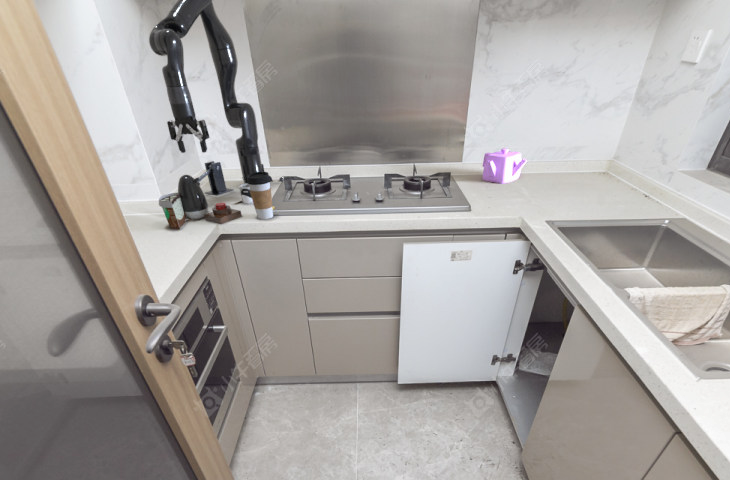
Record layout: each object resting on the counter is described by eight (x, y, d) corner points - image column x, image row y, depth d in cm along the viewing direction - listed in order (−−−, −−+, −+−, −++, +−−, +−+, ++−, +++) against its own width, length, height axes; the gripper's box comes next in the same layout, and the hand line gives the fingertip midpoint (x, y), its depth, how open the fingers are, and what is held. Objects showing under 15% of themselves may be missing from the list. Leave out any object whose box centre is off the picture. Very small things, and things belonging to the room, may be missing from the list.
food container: (172, 220, 161) (163, 192, 154) (188, 219, 161) (180, 191, 155) (161, 231, 151) (151, 202, 145) (179, 230, 151) (169, 201, 145)
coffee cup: (280, 214, 162) (273, 171, 153) (269, 221, 156) (261, 177, 147) (261, 212, 164) (253, 170, 155) (249, 219, 158) (240, 176, 149)
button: (222, 206, 160) (220, 202, 159) (228, 208, 158) (227, 203, 157) (214, 209, 158) (213, 204, 157) (221, 210, 156) (219, 205, 155)
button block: (226, 213, 165) (223, 202, 163) (242, 216, 161) (239, 205, 159) (205, 220, 159) (202, 209, 157) (221, 224, 155) (218, 213, 152)
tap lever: (198, 187, 176) (195, 182, 174) (191, 186, 178) (188, 181, 176) (220, 168, 182) (218, 163, 180) (213, 167, 184) (210, 162, 182)
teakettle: (515, 174, 197) (519, 144, 190) (524, 183, 184) (530, 151, 176) (478, 175, 198) (481, 145, 190) (485, 184, 184) (489, 153, 177)
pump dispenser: (202, 222, 158) (190, 178, 148) (177, 221, 160) (164, 177, 150) (216, 213, 165) (205, 171, 156) (192, 212, 167) (180, 171, 158)
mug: (240, 204, 174) (237, 187, 170) (245, 200, 179) (241, 183, 175) (264, 204, 173) (261, 187, 169) (268, 199, 178) (265, 182, 174)
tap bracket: (217, 198, 183) (209, 165, 175) (205, 195, 187) (196, 164, 179) (234, 192, 190) (227, 161, 182) (222, 190, 193) (215, 159, 185)
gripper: (204, 100, 152) (215, 150, 162) (168, 101, 154) (181, 150, 164) (194, 102, 146) (207, 154, 156) (156, 103, 148) (171, 154, 158)
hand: (194, 152), depth 160 cm, fingers open, 8 cm apart
